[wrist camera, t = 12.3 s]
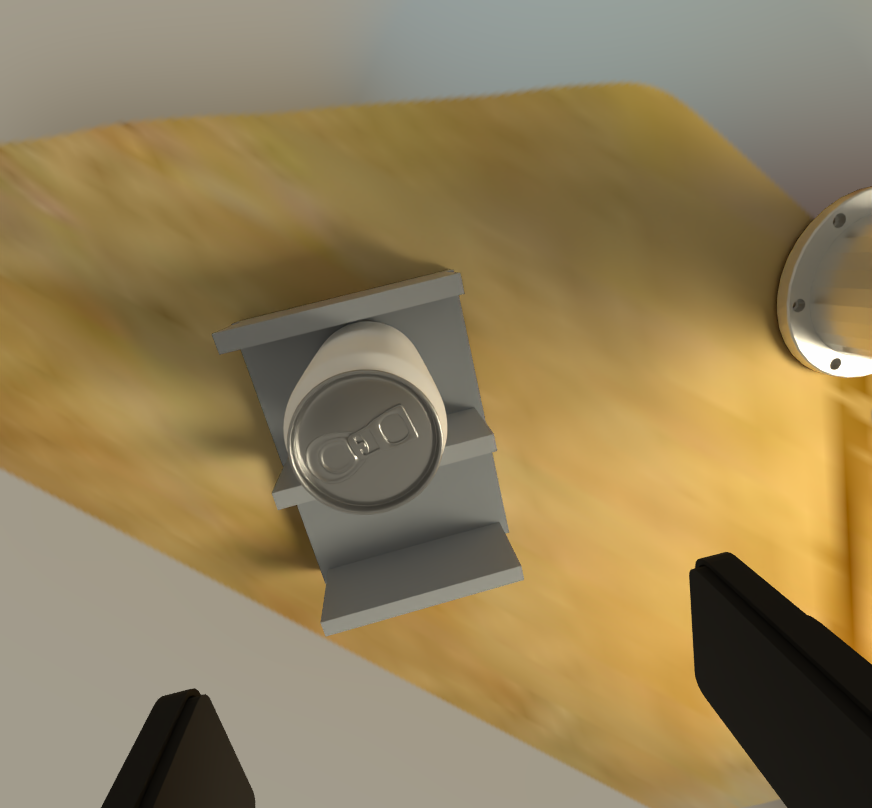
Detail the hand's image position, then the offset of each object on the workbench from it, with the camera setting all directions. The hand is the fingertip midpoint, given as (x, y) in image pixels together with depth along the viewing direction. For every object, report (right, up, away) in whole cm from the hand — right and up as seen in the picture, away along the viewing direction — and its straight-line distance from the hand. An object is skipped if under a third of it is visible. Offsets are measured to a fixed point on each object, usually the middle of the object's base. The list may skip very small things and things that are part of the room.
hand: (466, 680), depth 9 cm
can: (-5, +7, +20) cm, 21 cm away
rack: (-4, +3, +22) cm, 23 cm away
